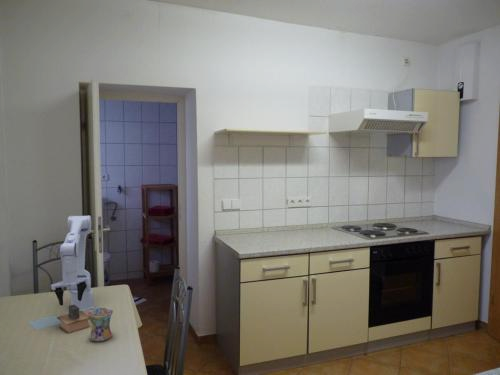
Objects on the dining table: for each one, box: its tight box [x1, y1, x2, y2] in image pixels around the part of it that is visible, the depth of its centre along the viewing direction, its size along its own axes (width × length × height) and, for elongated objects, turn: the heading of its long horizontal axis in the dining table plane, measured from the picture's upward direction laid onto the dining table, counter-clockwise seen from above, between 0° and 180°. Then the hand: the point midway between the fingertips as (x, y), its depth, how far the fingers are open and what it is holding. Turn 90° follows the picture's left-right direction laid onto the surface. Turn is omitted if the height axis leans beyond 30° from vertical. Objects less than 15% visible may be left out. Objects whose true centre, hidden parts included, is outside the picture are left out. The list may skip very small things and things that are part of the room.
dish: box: [60, 319, 89, 334], centre depth 167 cm, size 8×8×4 cm
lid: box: [56, 304, 90, 326], centre depth 167 cm, size 10×10×5 cm
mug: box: [87, 307, 114, 342], centre depth 159 cm, size 12×9×11 cm
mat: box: [27, 315, 61, 331], centre depth 171 cm, size 11×11×1 cm
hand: (70, 302), depth 168 cm, fingers open, 7 cm apart
